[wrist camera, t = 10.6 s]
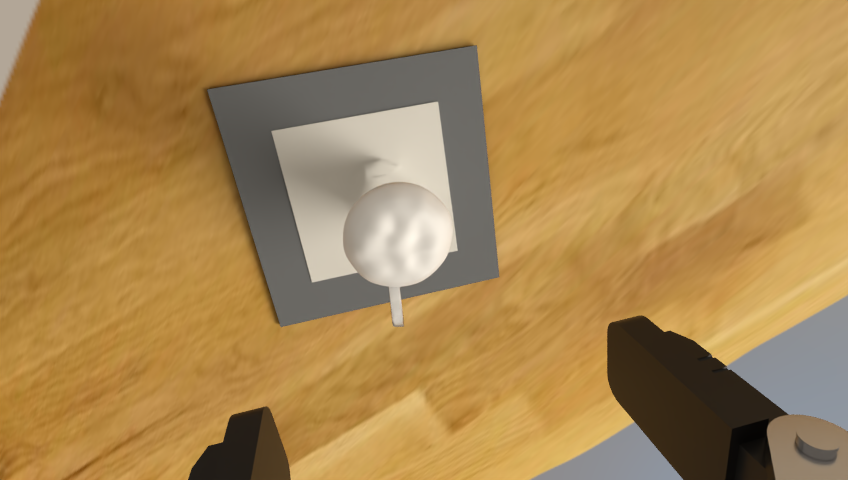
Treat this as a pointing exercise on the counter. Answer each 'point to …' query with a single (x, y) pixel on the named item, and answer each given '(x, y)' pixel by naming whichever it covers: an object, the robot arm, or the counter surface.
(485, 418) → the counter surface
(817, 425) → the robot arm
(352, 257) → the milkshake
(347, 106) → the pad
